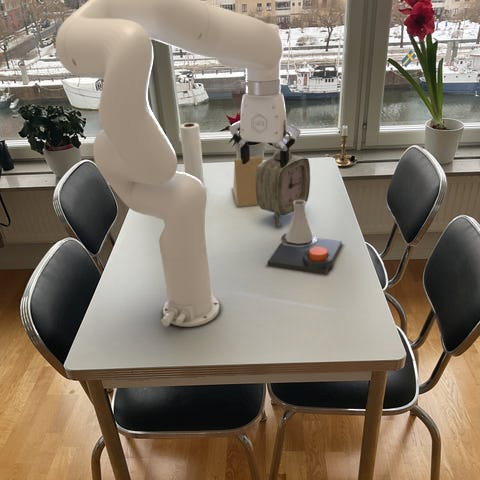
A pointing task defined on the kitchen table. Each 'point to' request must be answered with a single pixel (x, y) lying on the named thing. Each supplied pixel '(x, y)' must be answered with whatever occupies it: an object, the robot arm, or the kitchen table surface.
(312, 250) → the scale button
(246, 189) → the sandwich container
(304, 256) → the scale
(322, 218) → the kitchen table surface
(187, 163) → the paper towel roll
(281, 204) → the tabletop clock
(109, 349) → the kitchen table surface
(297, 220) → the flask
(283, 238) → the weighing pan
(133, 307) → the kitchen table surface
